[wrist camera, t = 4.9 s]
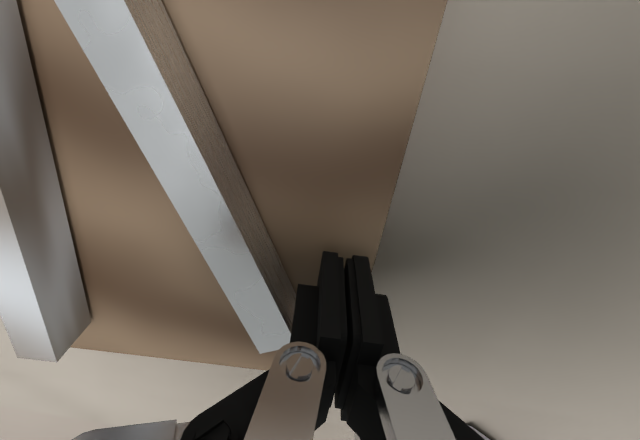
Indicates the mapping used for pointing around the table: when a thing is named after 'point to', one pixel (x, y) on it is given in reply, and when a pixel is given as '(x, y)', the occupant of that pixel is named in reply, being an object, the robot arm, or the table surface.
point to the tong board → (244, 144)
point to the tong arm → (187, 154)
